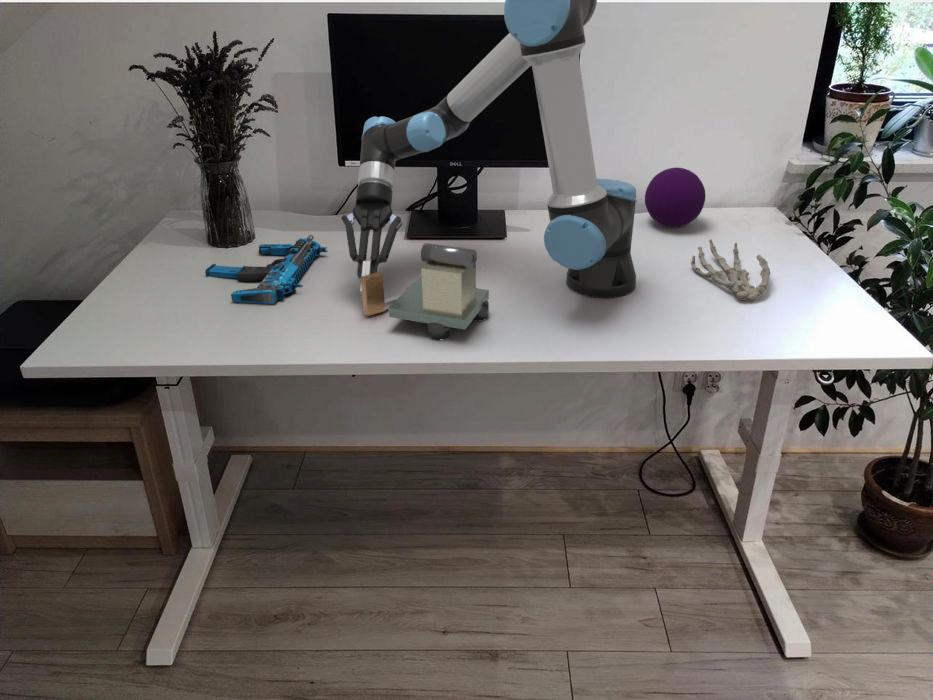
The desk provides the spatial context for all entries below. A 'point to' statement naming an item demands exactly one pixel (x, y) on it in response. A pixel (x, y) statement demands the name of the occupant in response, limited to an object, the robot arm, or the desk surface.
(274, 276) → the submachine gun
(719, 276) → the skeleton model
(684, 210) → the toy ball
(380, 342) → the desk surface
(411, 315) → the footed square platform
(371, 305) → the footscrew lever
